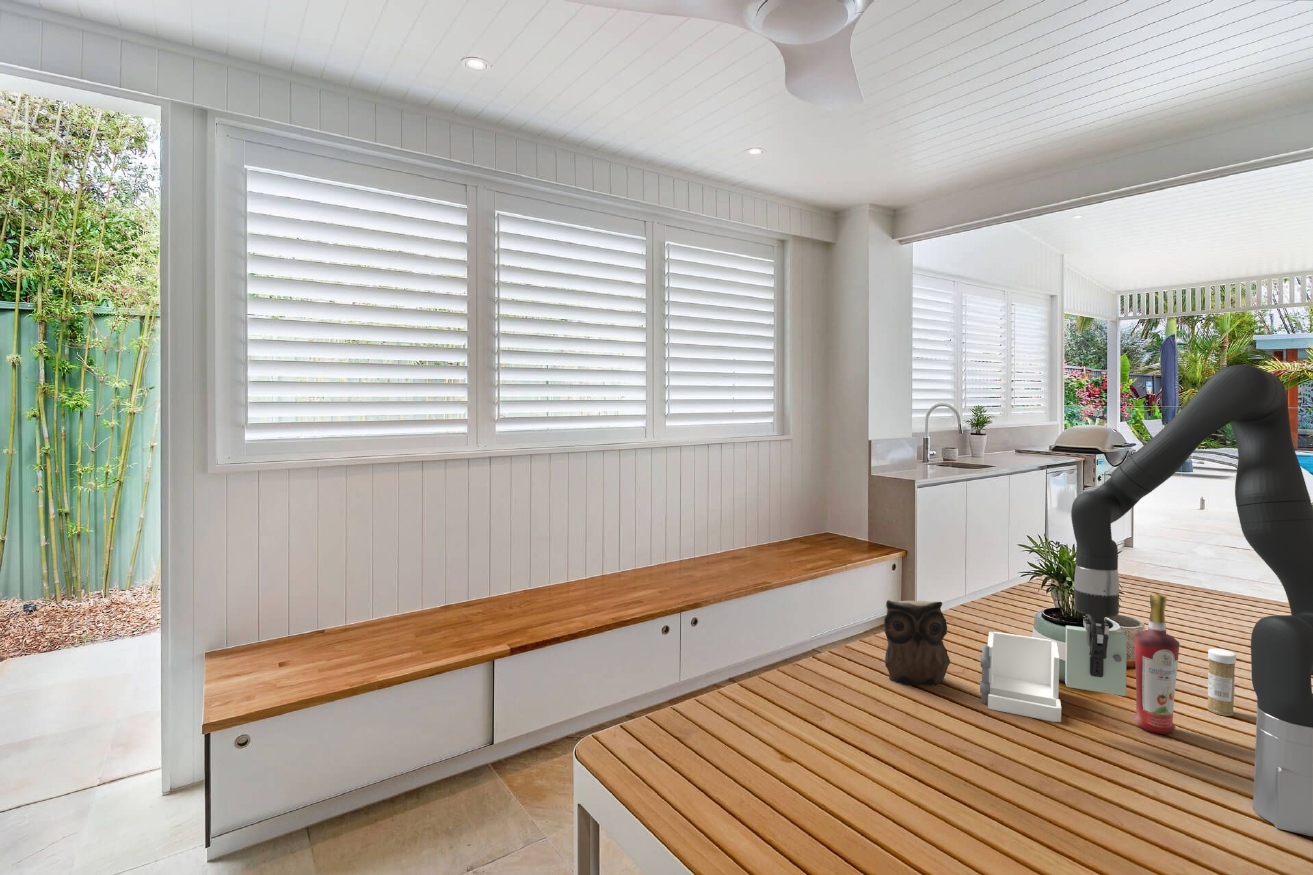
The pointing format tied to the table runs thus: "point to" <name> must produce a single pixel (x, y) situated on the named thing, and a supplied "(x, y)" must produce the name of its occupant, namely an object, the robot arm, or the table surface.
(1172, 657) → the liquor
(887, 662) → the owl
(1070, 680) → the door
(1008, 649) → the cabinet
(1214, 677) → the sprinkles bottle
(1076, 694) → the table surface
